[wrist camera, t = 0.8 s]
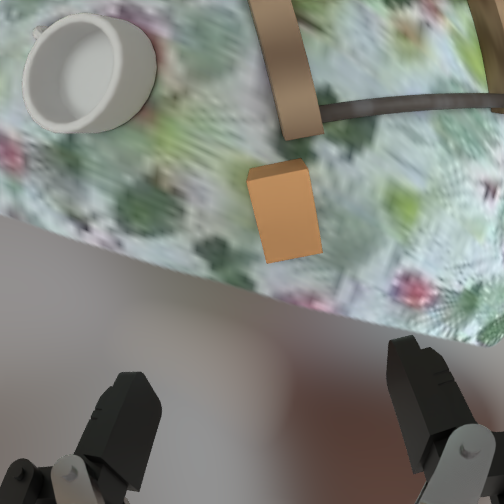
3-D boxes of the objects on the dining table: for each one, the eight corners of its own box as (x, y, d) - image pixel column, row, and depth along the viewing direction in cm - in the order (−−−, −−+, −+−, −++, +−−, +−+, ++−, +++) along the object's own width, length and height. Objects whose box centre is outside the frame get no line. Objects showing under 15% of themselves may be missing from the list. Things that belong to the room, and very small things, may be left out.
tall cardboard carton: (249, 168, 24) (246, 181, 20) (300, 157, 24) (308, 168, 20) (266, 238, 27) (266, 263, 23) (314, 229, 26) (322, 252, 22)
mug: (185, 67, 21) (160, 56, 16) (105, 154, 24) (67, 169, 19) (96, -10, 18) (59, -29, 12) (30, 74, 21) (-13, 75, 15)
